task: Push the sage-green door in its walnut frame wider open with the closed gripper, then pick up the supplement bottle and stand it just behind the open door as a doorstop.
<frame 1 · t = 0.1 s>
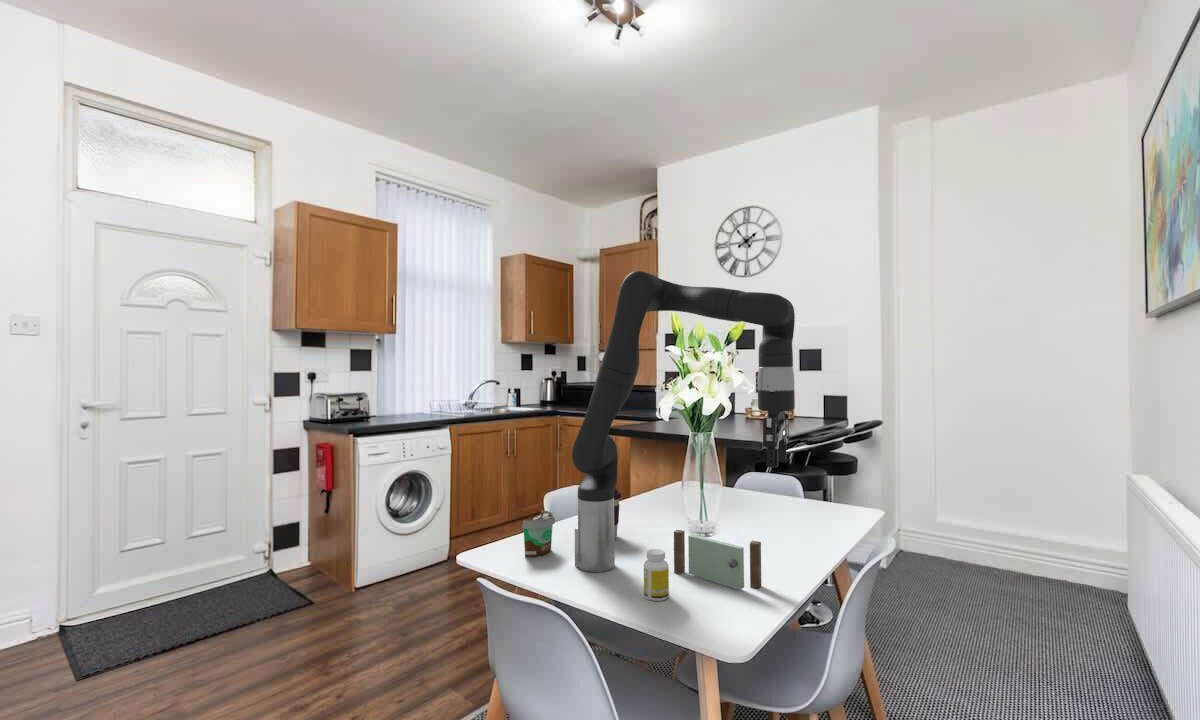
hand: (776, 464, 118), 29 cm above the table, tool pointing down, fingers open, 8 cm apart
food container: (543, 553, 150), on the table
coffee cup: (604, 538, 163), on the table
door: (713, 561, 128), point 5 cm above the table, hinge at 15.0°
door frame: (687, 573, 134), on the table
supplement bottle: (656, 597, 120), on the table
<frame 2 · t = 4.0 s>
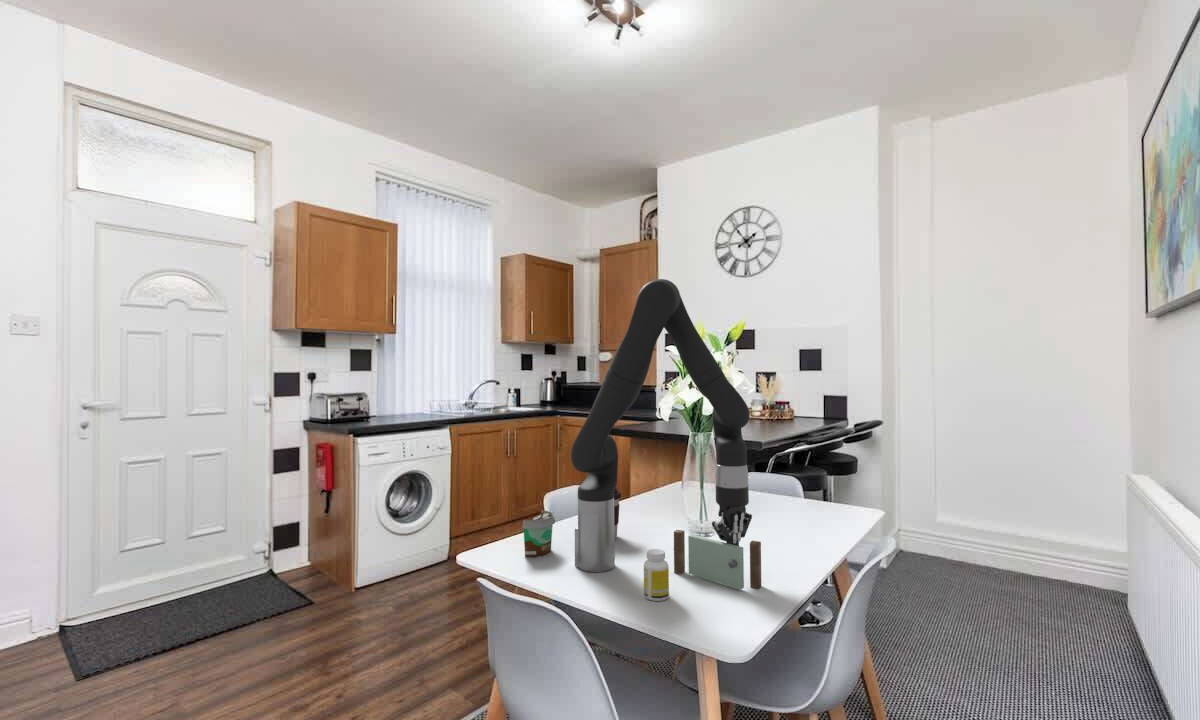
hand: (733, 557, 129), 5 cm above the table, tool pointing down, fingers closed
door: (713, 561, 128), point 5 cm above the table, hinge at 15.4°, touching gripper
everything else where it was.
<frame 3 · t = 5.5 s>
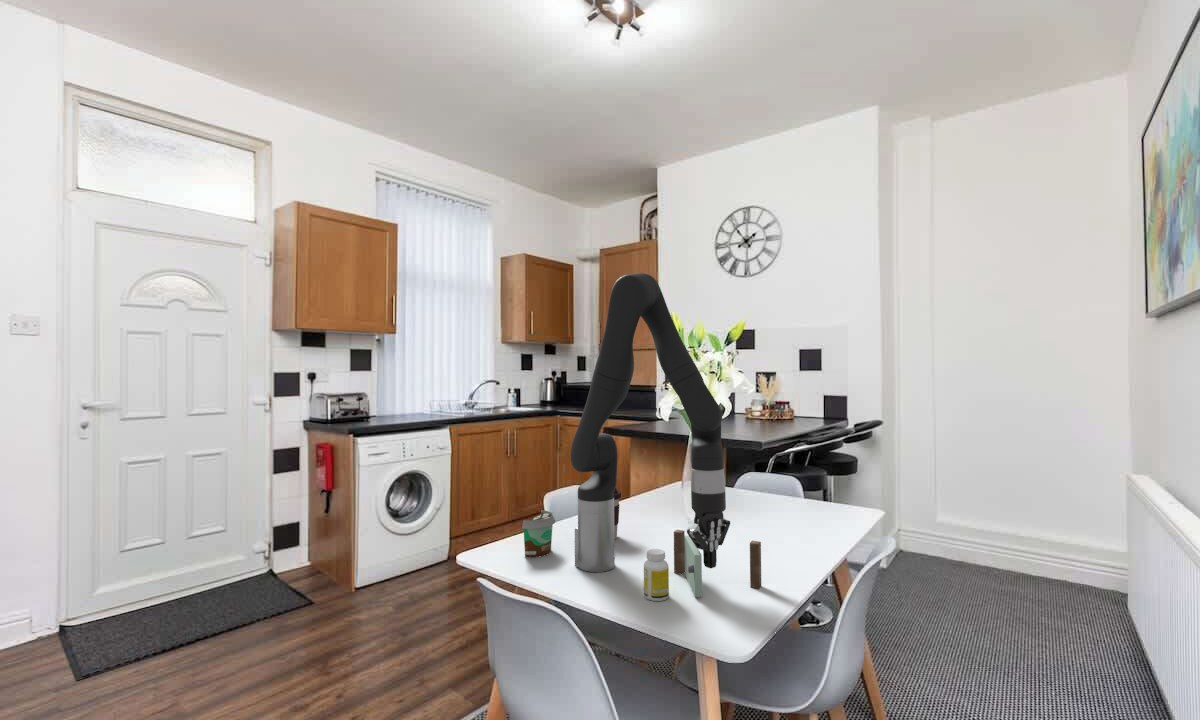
hand: (710, 566, 123), 6 cm above the table, tool pointing down, fingers closed
door: (690, 564, 126), point 5 cm above the table, hinge at 59.9°, touching gripper
everything else where it was.
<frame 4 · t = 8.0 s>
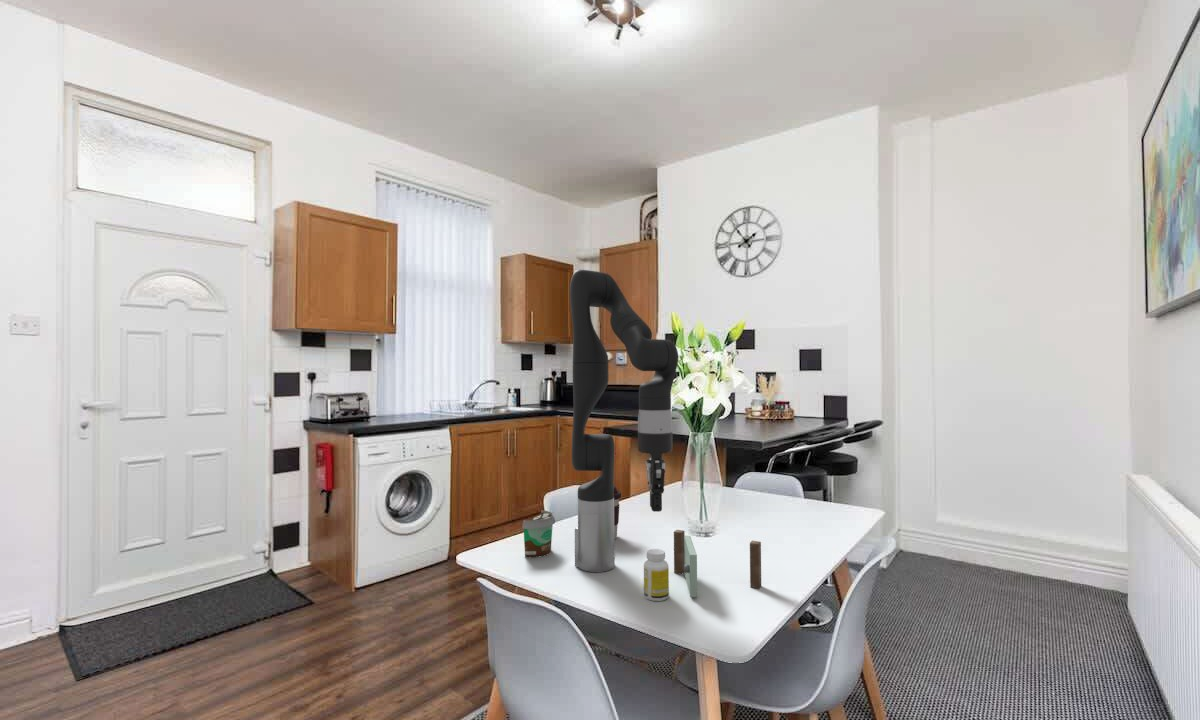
hand: (655, 508, 121), 19 cm above the table, tool pointing down, fingers closed
door: (687, 564, 126), point 5 cm above the table, hinge at 63.7°
everything else where it was.
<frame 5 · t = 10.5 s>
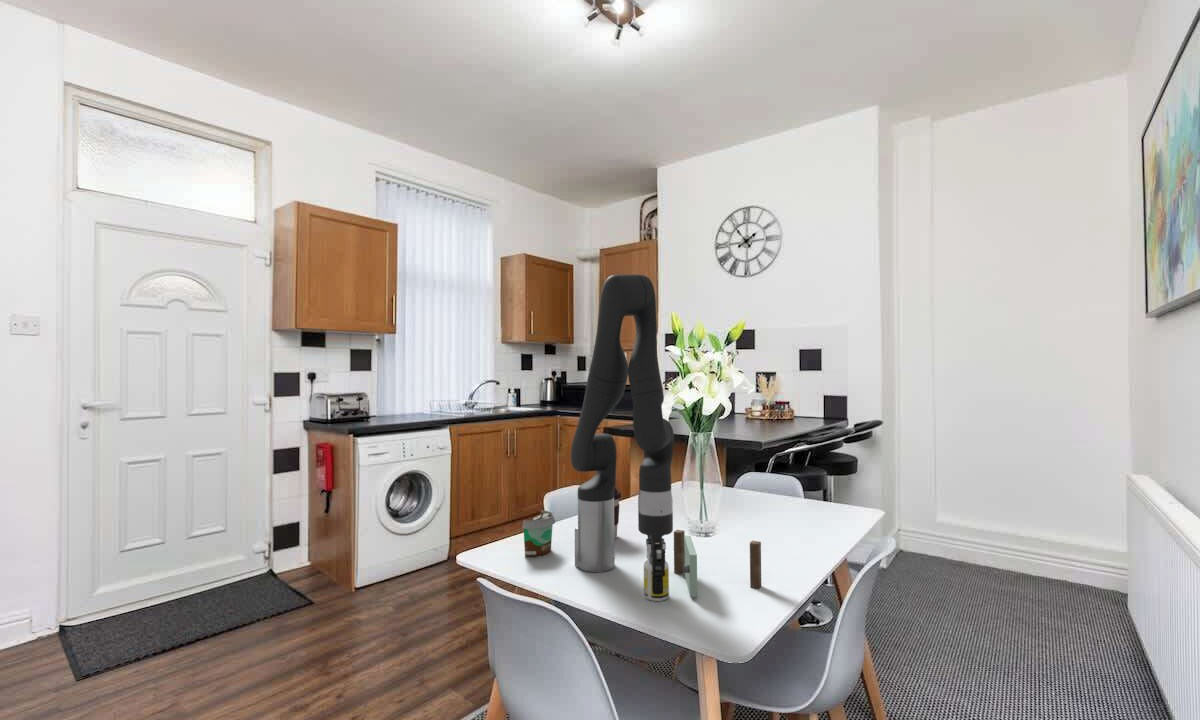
hand: (656, 587, 120), 2 cm above the table, tool pointing down, fingers closed on supplement bottle, 5 cm apart
supplement bottle: (656, 597, 120), on the table, touching gripper
everything else where it was.
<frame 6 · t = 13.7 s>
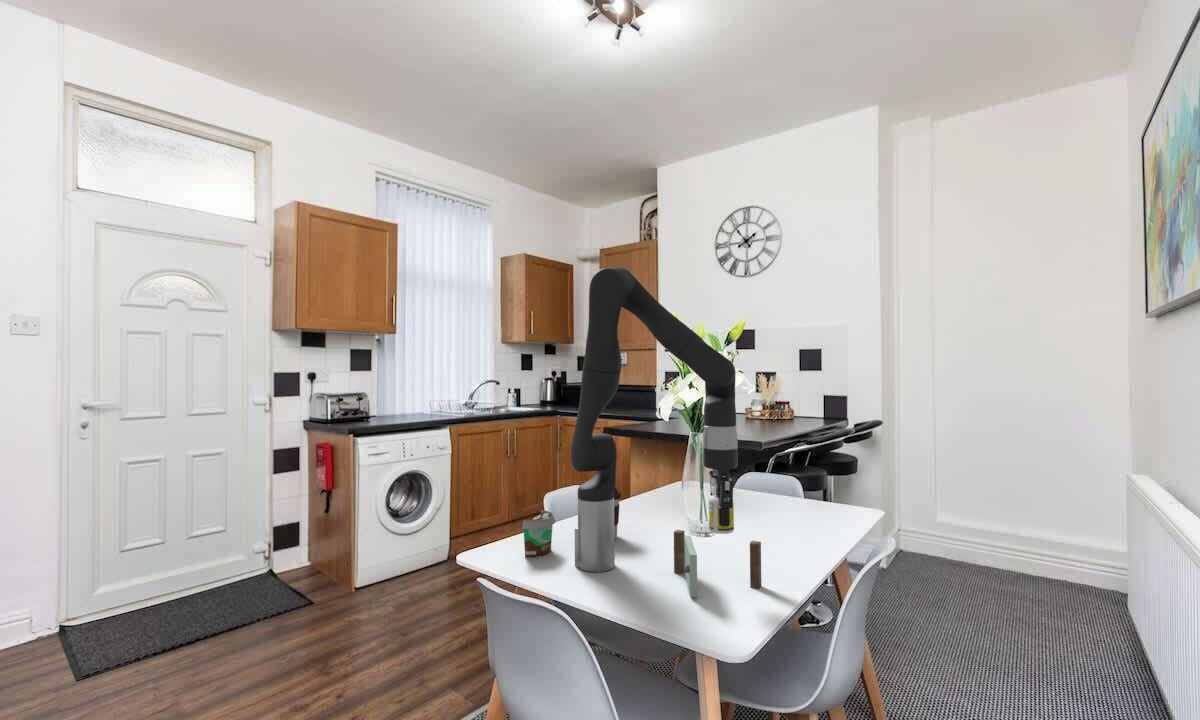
hand: (721, 521, 123), 16 cm above the table, tool pointing down, fingers closed on supplement bottle, 5 cm apart
supplement bottle: (721, 531, 123), point 13 cm above the table, touching gripper
everything else where it was.
when the fingers open (3 cm above the table, at t = 16.4 s): supplement bottle drops 1 cm, on the table.
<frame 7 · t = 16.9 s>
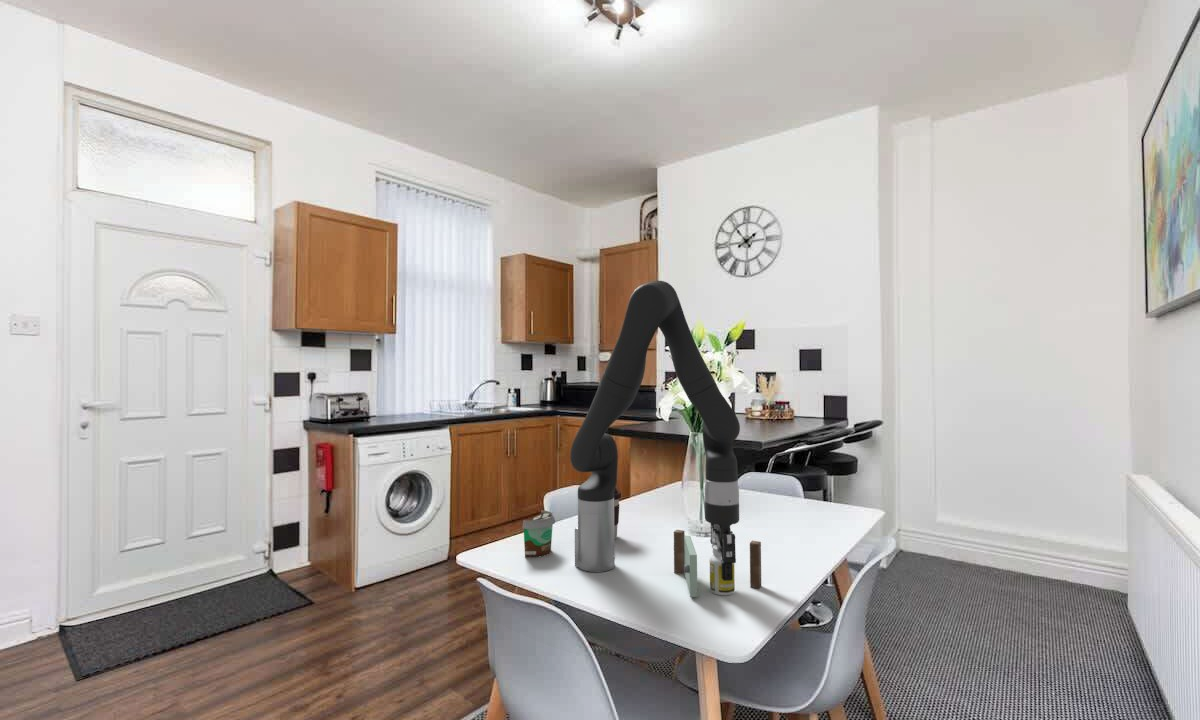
hand: (722, 572, 123), 4 cm above the table, tool pointing down, fingers open, 8 cm apart
supplement bottle: (722, 592, 123), on the table
everything else where it was.
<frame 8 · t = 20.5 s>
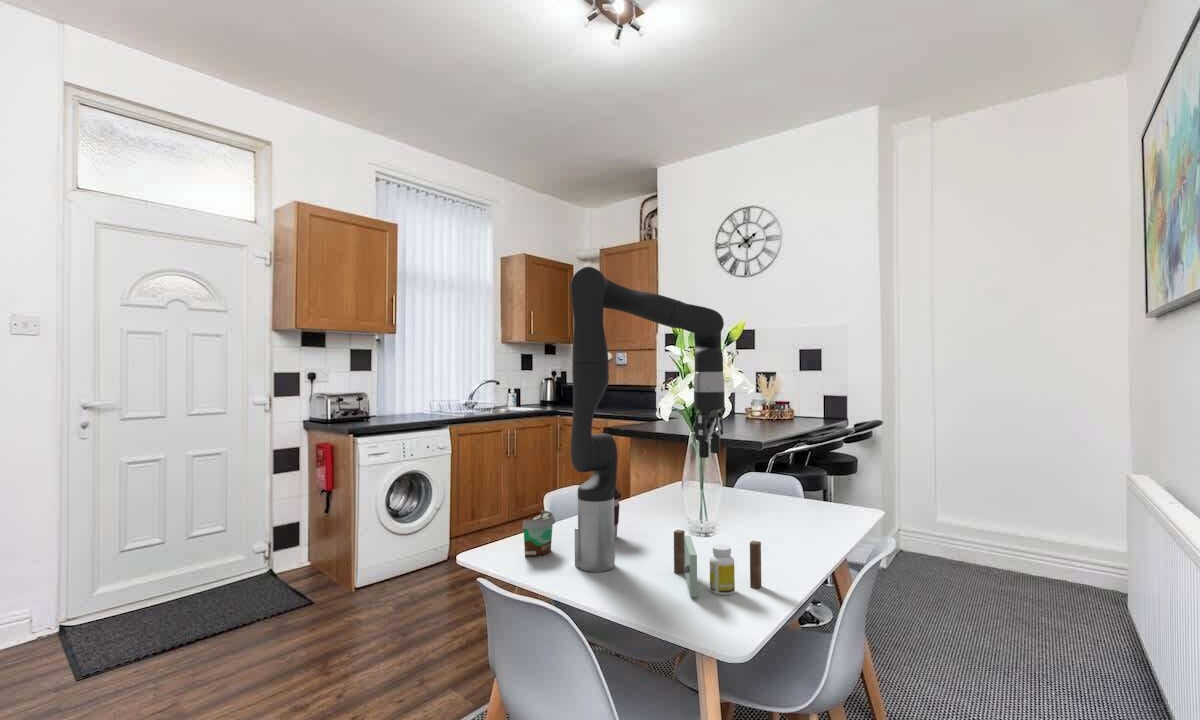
hand: (709, 455, 137), 28 cm above the table, tool pointing down, fingers open, 8 cm apart
nothing on the table moved.
at the end: door at +64° (first picture: +15°); supplement bottle inside the target area (0.2 cm from its centre), on the table; supplement bottle tilted 0° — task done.
